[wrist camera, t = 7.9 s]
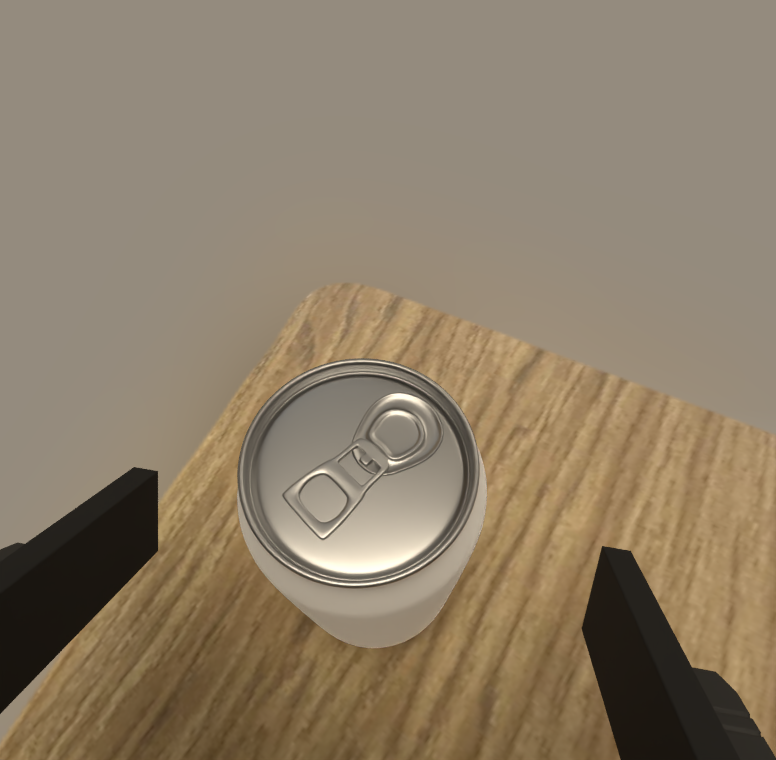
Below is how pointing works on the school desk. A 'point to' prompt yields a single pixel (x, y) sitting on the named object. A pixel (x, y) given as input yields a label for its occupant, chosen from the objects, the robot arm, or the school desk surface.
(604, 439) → the school desk surface
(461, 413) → the can
